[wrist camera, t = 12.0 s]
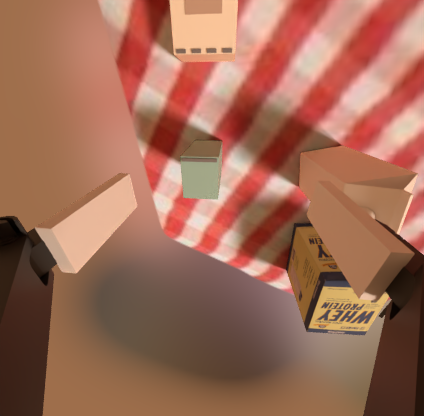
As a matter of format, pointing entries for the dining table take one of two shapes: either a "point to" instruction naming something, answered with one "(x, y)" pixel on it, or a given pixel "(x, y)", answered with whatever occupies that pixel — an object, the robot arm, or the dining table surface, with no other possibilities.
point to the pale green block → (202, 169)
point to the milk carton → (361, 181)
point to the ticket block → (204, 30)
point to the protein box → (325, 288)
